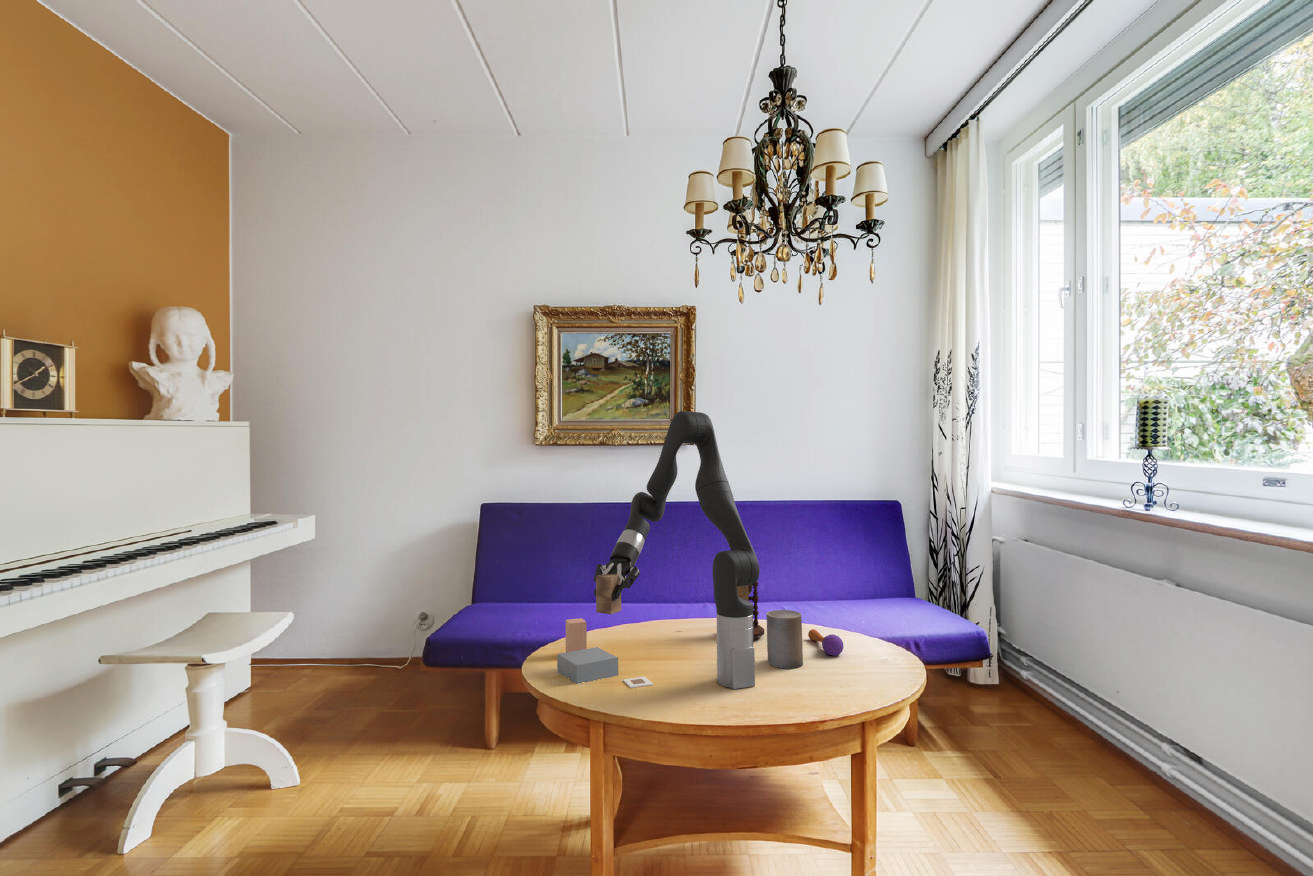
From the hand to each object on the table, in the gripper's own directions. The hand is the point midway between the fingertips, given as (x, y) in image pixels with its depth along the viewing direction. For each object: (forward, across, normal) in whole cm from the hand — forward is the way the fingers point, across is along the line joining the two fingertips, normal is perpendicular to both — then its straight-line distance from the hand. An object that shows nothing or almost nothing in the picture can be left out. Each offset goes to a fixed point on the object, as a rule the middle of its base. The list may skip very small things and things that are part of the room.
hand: (604, 597), depth 178 cm
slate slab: (+18, -1, +8) cm, 20 cm away
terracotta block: (+10, -14, +16) cm, 23 cm away
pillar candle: (-5, +42, +32) cm, 53 cm away
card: (+18, +15, +8) cm, 25 cm away
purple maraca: (-19, +47, +47) cm, 69 cm away
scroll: (-19, +20, +46) cm, 54 cm away
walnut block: (+2, 0, +4) cm, 5 cm away
